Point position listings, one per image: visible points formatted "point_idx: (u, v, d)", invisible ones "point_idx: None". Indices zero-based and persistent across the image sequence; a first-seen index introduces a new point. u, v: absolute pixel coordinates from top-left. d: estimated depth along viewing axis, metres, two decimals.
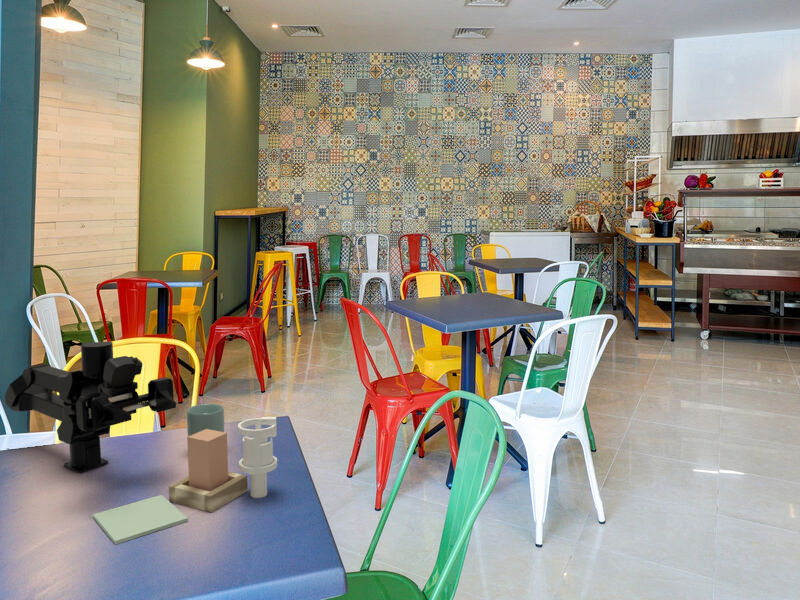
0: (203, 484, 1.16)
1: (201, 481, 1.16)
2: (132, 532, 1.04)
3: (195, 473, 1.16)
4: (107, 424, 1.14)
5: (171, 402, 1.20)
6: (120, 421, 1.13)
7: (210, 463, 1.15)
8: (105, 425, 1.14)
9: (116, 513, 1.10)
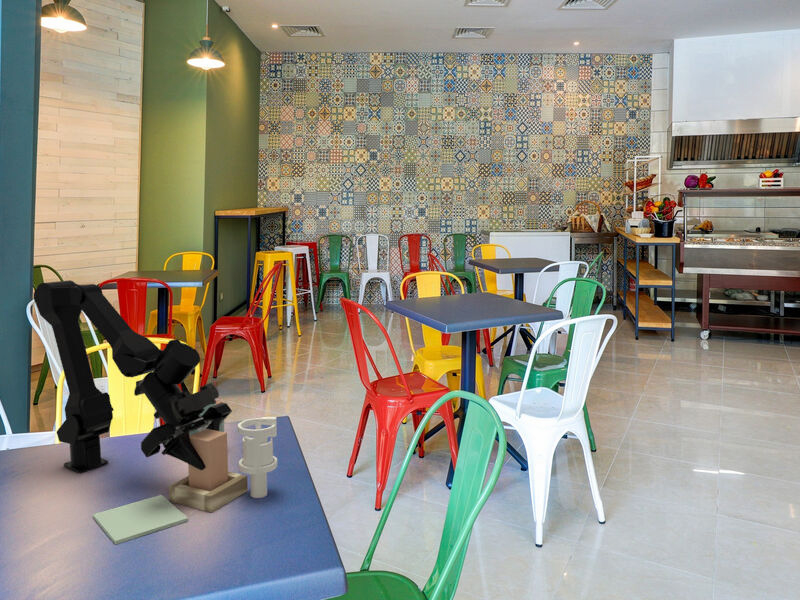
0: (203, 483, 1.16)
1: (201, 481, 1.16)
2: (132, 532, 1.04)
3: (195, 473, 1.16)
4: (177, 456, 1.15)
5: None
6: (191, 464, 1.15)
7: (210, 463, 1.15)
8: (174, 456, 1.15)
9: (116, 513, 1.10)
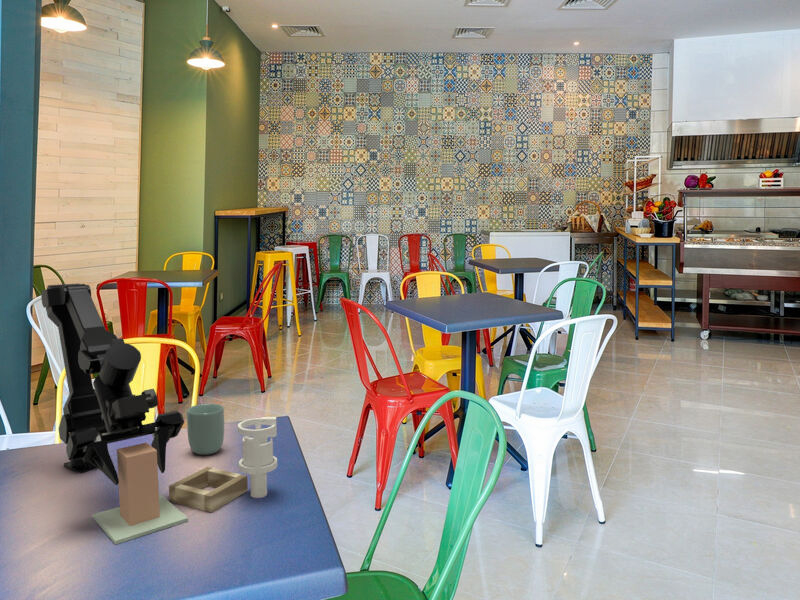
0: (126, 502, 1.06)
1: (125, 500, 1.07)
2: (132, 532, 1.04)
3: (121, 489, 1.08)
4: (97, 466, 1.07)
5: (161, 466, 1.10)
6: (108, 477, 1.06)
7: (130, 482, 1.05)
8: (95, 464, 1.07)
9: (116, 513, 1.10)
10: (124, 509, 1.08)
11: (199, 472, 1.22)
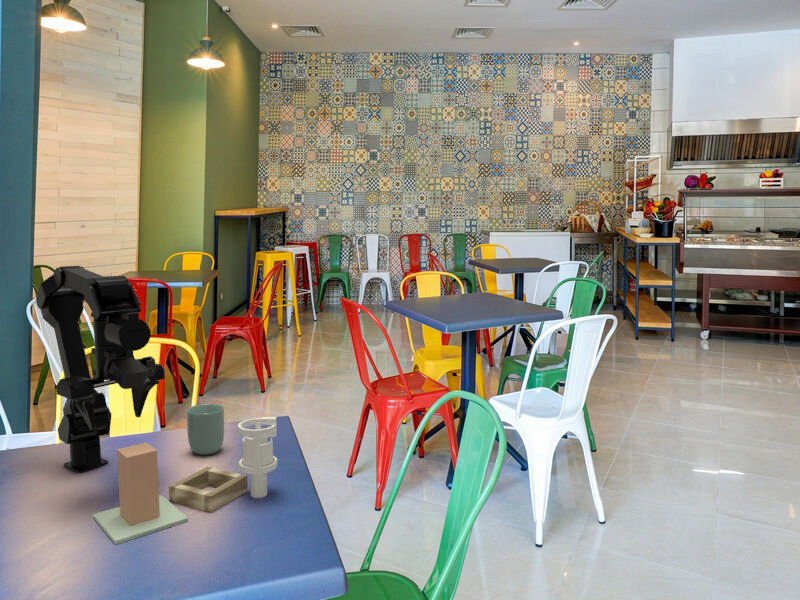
0: (126, 502, 1.06)
1: (125, 500, 1.07)
2: (132, 532, 1.04)
3: (121, 489, 1.08)
4: (76, 404, 1.16)
5: (138, 413, 1.23)
6: (84, 419, 1.16)
7: (130, 482, 1.05)
8: (75, 402, 1.16)
9: (116, 513, 1.10)
10: (124, 509, 1.08)
11: (199, 472, 1.22)
